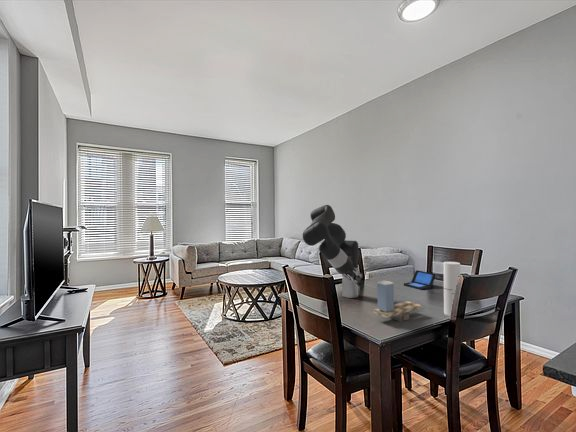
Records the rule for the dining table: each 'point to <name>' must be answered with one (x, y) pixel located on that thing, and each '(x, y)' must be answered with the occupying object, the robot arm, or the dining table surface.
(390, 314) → the ginger root
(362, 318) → the dining table surface
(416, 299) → the dining table surface
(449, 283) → the cylindrical container
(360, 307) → the dining table surface
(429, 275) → the handheld game console
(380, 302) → the blue rectangular block
